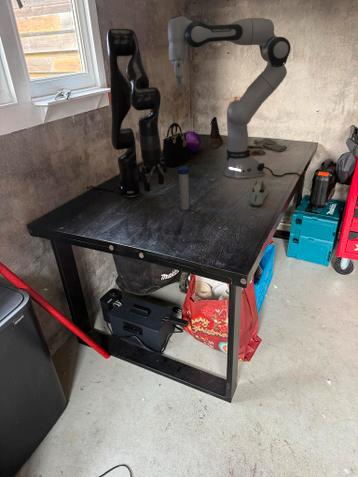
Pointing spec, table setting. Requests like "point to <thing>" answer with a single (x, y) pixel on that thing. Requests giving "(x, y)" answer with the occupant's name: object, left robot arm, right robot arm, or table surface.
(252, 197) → the ballet flat
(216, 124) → the boot
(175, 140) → the handbag
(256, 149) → the pair of gloves
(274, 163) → the table surface
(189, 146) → the decorative orb
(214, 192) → the table surface
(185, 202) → the bottle
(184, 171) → the lid
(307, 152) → the table surface
